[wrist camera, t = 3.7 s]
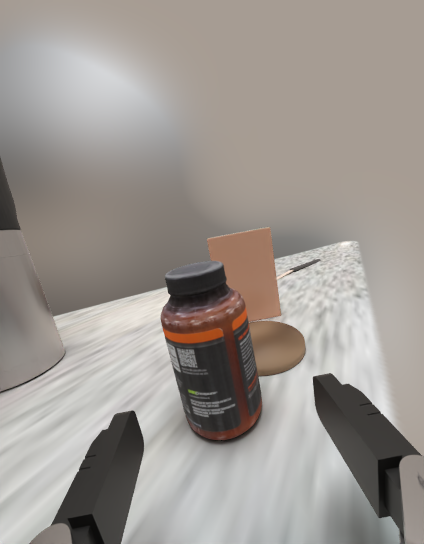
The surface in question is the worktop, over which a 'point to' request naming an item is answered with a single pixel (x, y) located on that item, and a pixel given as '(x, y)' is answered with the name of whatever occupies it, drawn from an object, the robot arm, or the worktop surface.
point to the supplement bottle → (211, 351)
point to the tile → (249, 269)
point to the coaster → (276, 346)
